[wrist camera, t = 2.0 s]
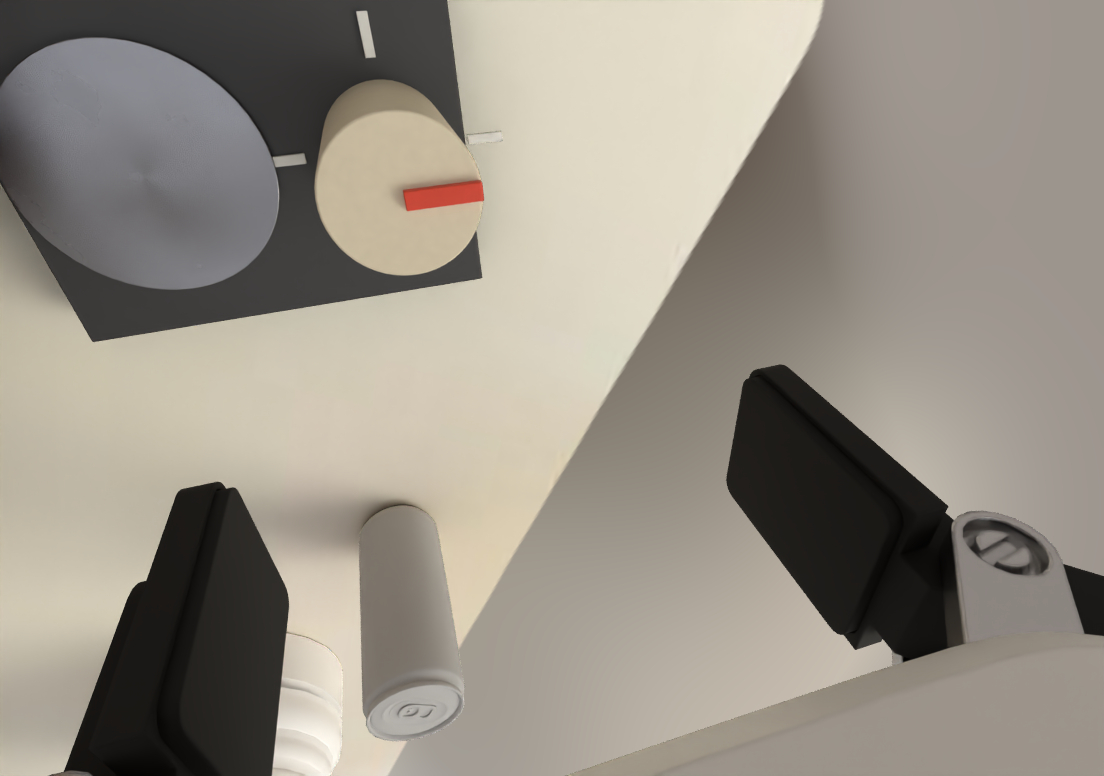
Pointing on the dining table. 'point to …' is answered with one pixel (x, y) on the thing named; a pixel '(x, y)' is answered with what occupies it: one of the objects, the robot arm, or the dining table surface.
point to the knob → (395, 180)
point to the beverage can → (406, 628)
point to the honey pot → (308, 710)
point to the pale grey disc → (136, 163)
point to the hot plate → (285, 121)
